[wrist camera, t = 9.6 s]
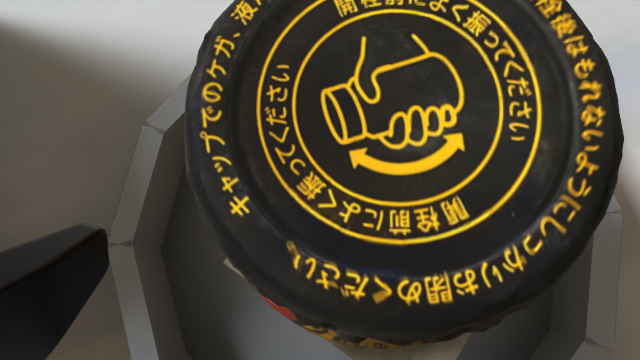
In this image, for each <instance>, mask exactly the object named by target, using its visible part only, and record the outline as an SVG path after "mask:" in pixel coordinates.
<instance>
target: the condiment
mask: <svg viewBox="0 0 640 360" xmlns="http://www.w3.org/2000/svg"><path fill="white" fill-rule="evenodd" d="M623 143H624V135H623V129H622V124H621V119H620V114H619V105H618V97H617V93H616V88H615V82H614V77H613V75H612V72H611V68H610V65H609V62H608V60H607V58H606V56H605V54H604V53H603V51H602V49H601V48H600V47H599V45H598V44H597V43H596V42H595V40H594V39H593V36H592V34H591V33H590V31H589V30H588V28H587V27H586V26H585V24H584V23H583V21H582V20H581V19H580V17H579V16H578V15H577V13H576V12H575V11H574V9H573V8H572V7H571V6H570V5H569V3H568V2H567V1H566V0H235V1H234V2H233V3H232V4H231V5H230V6H229V7H228V8H227V9H226V10H225V11H224V12H223V13H222V14H221V15H220V16H219V17H218V19H217V20H216V21H215V22H214V24H213V26H212V28H211V29H210V30H209V31H208V32H207V33H206V35H205V37H204V41H203V43H202V45H201V47H200V49H199V51H198V57H197V64H196V66H195V68H194V70H193V73H192V75H191V78H190V81H189V84H188V87H187V94H186V101H185V114H184V146H185V164H186V178H187V180H188V181H189V183H190V185H191V187H192V190H193V192H194V196H195V200H196V204H197V209H198V212H199V214H200V216H201V218H202V220H203V222H204V223H205V225H206V227H207V228H208V230H209V232H210V234H211V236H212V238H213V239H214V241H215V242H216V243H217V244H218V246H219V247H220V249H221V250H222V251H223V253H224V254H225V256H226V257H227V258H226V259H225V261H224V262H223V263H224V264H226V265H227V266H228V267H230V268H231V269H232V270H234V271H235V272H236V273H238V274H239V275H240V276H242V277H243V278H244V279H245V280H246V281H247V283H248V284H249V285H250V286H251V287H252V288H254V289H255V290H256V291H257V292H258V293H259V294H260V296H261V297H262V298H263V299H264V300H265V301H266V302H267V303H268V304H269V305H271V306H272V307H273V308H274V309H275V310H276V311H277V312H279V313H280V314H282V315H283V316H285V317H287V318H288V319H289V320H290V321H291V322H292V323H294V324H295V325H297V326H300V327H302V328H303V329H305V330H306V331H308V332H309V333H311V334H315V335H318V336H320V337H321V338H323V339H325V340H327V341H329V342H330V343H331V344H332V345H334V346H335V347H336V348H338V349H339V350H340V351H342V352H343V353H345V354H346V355H347V356H349V357H350V358H351V359H353V360H456V359H457V357H458V355H459V354H460V352H461V350H462V349H463V347H464V345H465V344H466V342H467V340H468V338H469V337H470V335H471V333H472V332H486V331H487V330H488V329H490V328H491V327H493V326H496V325H498V324H500V323H501V322H502V320H503V319H504V318H505V316H506V315H509V314H512V313H515V312H519V311H523V310H526V309H527V307H528V306H529V305H530V304H531V303H532V302H533V301H534V300H536V299H537V298H539V297H541V296H543V295H545V294H546V293H547V292H548V291H549V290H550V289H551V288H553V287H554V286H555V285H556V284H557V282H558V281H560V280H561V278H562V275H563V274H564V273H565V272H567V271H568V270H569V269H570V268H571V267H572V265H573V264H574V263H575V262H576V260H577V259H578V258H579V257H580V256H581V254H582V253H583V251H584V250H585V248H586V247H587V245H588V243H589V241H590V240H591V238H592V236H593V234H594V232H595V230H596V228H597V227H598V225H599V224H600V223H601V221H602V220H603V218H604V216H605V214H606V211H607V209H608V206H609V203H610V201H611V198H612V196H613V193H614V190H615V187H616V183H617V177H618V170H619V166H620V162H621V159H622V149H623Z"/></svg>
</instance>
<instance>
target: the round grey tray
mask: <svg viewBox="0 0 640 360" xmlns="http://www.w3.org/2000/svg"><path fill="white" fill-rule="evenodd" d="M191 75H192V74H191ZM191 75H190V76H189V77H188V78H187V79H186V80H185V81H184V82H183V83H182V84H181V85H180V86H179V87H178V88H177V89H176V90H175V91H174V92H173V93H172V94H171V95H170V96H169V97H168V98H167V99H166V100H165V101H164V102H163V103H162V104H161V105H160V106H159V107H158V108H157V109H156V110H155V111H154V112H153V114H152V115H151V116H150V117H149V118H148V119H147V120H146V122H147V123H148V124H149V125H150V126H151V127H149V126H144V125H142V129H141V132H140V135H139V139H138V142H137V145H136V148H135V152H134V155H133V158H132V162H131V165H130V168H129V172H128V175H127V178H126V182H125V185H124V188H123V191H122V195H121V198H120V201H119V205H118V208H117V211H116V215H115V218H114V221H113V224H112V228H111V231H110V234H109V238H108V242H109V243H114V244H116V245H113V246H110V247H108V252H109V259H110V264H111V268H112V273H113V277H114V282H115V287H116V291H117V296H118V300H119V305H120V309H121V314H122V318H123V323H124V328H125V332H126V337H127V341H128V346H129V350H130V355H131V359H132V360H353V359H351V358H350V357H349V356H347V355H346V354H345V353H343V352H342V351H340V350H339V349H338V348H336V347H335V346H334V345H332V344H331V343H330V342H329V341H327V340H325V339H323V338H321V337H320V336H318V335H315V334H311V333H309V332H308V331H306V330H305V329H303V328H302V327H300V326H297V325H295V324H294V323H292V322H291V321H290V320H289V319H288V318H287V317H285V316H283V315H282V314H280V313H279V312H277V311H276V310H275V309H274V308H273V307H272V306H271V305H269V304H268V303H267V302H266V301H265V300H264V299H263V298H262V297H261V296H260V294H259V293H258V292H257V291H256V290H255V289H254V288H252V287H251V286H250V285H249V284H248V283H247V281H246V280H245V279H244V278H243V277H242V276H240V275H239V274H238V273H236V272H235V271H234V270H232V269H231V268H230V267H228V266H227V265H226V264H224V263H223V262H224V261H225V259H226V258H227V257H226V256H225V254H224V253H223V251H222V250H221V249H220V247H219V246H218V244H217V243H216V242H215V241H214V239H213V238H212V236H211V234H210V232H209V230H208V228H207V227H206V225H205V223H204V222H203V220H202V218H201V216H200V214H199V212H198V209H197V204H196V200H195V196H194V192H193V190H192V187H191V185H190V183H189V181H188V180H187V178H186V164H185V146H184V114H185V101H186V94H187V87H188V84H189V81H190V78H191ZM620 209H621V207H620V205H619V203H618V201H617V199H616V197H615V195H614V193H613V196H612V198H611V201H610V203H609V206H608V209H607V211H606V214H605V216H604V218H603V220H602V221H601V223H600V224H599V225H598V227H597V228H596V230H595V232H594V234H593V236H592V238H591V240H590V241H589V243H588V245H587V247H586V248H585V250H584V251H583V253H582V254H581V256H580V257H579V258H578V259H577V260H576V262H575V263H574V264H573V265H572V267H571V268H570V269H569V270H568V271H567V272H565V273H564V274H563V275H562V278H561V280H560V281H558V282H557V284H556V285H555V286H554V287H553V288H551V289H550V290H549V291H548V292H547V293H546V294H545V295H543V296H541V297H539V298H537V299H536V300H534V301H533V302H532V303H531V304H530V305H529V306H528V307H527V309H526V310H523V311H519V312H515V313H512V314H509V315H506V316H505V318H504V319H503V320H502V322H501V323H500V324H498V325H496V326H493V327H491V328H490V329H488V330H487V331H486V332H472V333H471V335H470V337H469V338H468V340H467V342H466V344H465V345H464V347H463V349H462V350H461V352H460V354H459V355H458V357H457V359H456V360H609V358H610V357H611V356H612V355H611V354H609V353H608V352H607V351H606V350H605V349H603V348H602V347H604V348H608V349H613V350H614V338H615V323H616V308H617V293H618V278H619V264H620V249H621V234H622V219H623V215H622V214H616V213H612V212H614V211H617V210H620Z"/></svg>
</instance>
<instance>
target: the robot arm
mask: <svg viewBox="0 0 640 360" xmlns="http://www.w3.org/2000/svg"><path fill="white" fill-rule="evenodd" d="M108 266H109V252H108V241H107V233H106V231H105V230H104V229H102V228H100V227H97V226H94V225H91V224H88V223H81V224H78V225H75V226H72V227H69V228H66V229H64V230H61V231H58V232H55V233H52V234H49V235H47V236H44V237H41V238H38V239H35V240H32V241H30V242H27V243H24V244H21V245H18V246H15V247H13V248H10V249H7V250H4V251H1V252H0V360H45V359H46V358H47V357H48V356H49V355H50V353H51V352H52V351H53V349H54V348H55V347H56V346H57V344H58V343H59V342H60V340H61V339H62V337H63V336H64V335H65V333H66V332H67V330H68V329H69V327H70V326H71V324H72V323H73V321H74V320H75V318H76V317H77V315H78V314H79V312H80V311H81V309H82V308H83V306H84V305H85V303H86V302H87V300H88V299H89V297H90V296H91V294H92V293H93V291H94V290H95V288H96V287H97V285H98V284H99V282H100V281H101V279H102V278H103V276H104V275H105V273H106V271H107V269H108Z"/></svg>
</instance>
